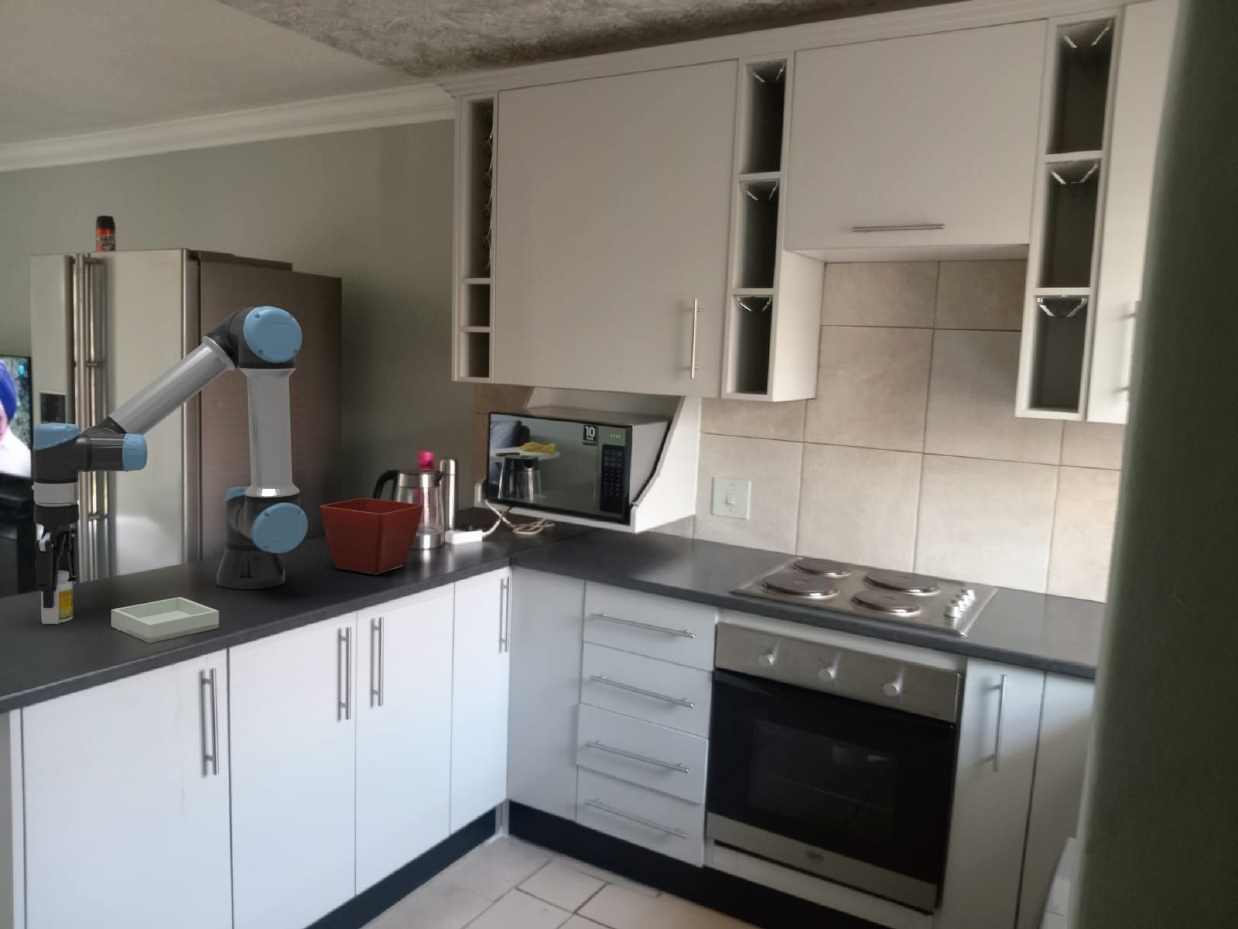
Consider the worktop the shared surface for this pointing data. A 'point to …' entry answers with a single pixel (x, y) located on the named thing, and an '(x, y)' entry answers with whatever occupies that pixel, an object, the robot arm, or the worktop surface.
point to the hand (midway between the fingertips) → (57, 618)
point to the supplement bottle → (64, 597)
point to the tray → (164, 619)
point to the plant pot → (370, 533)
